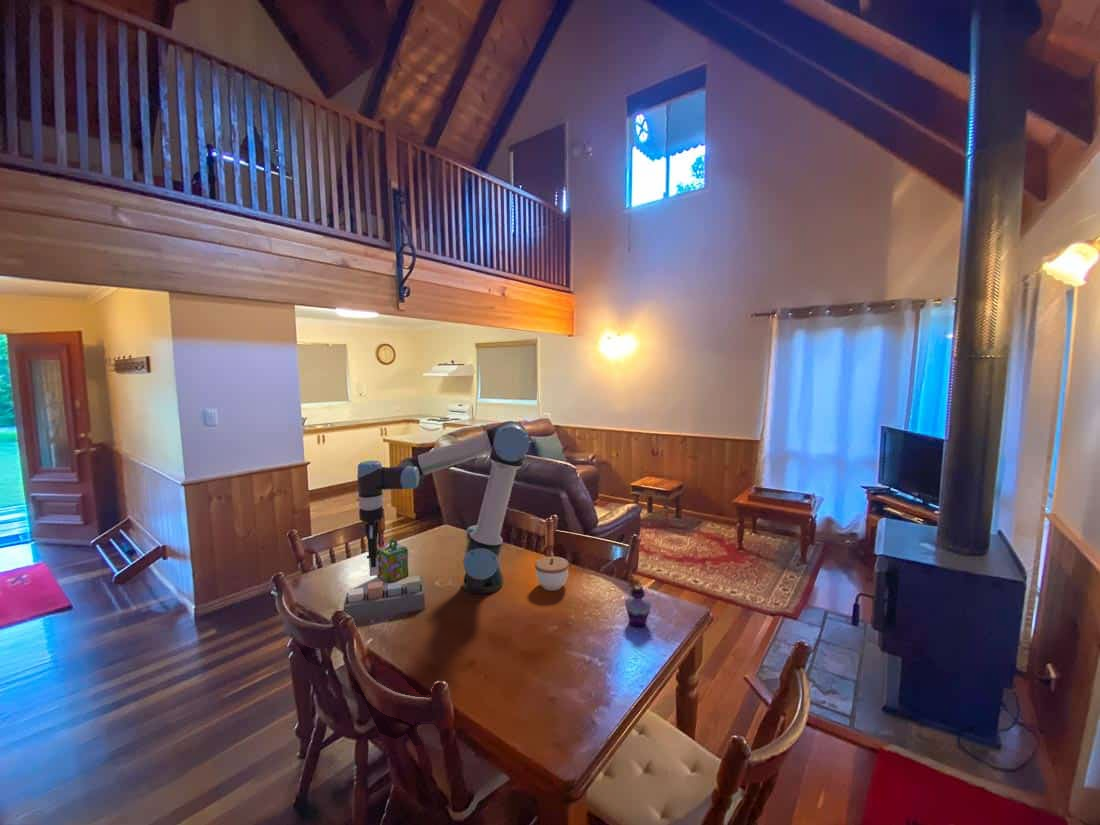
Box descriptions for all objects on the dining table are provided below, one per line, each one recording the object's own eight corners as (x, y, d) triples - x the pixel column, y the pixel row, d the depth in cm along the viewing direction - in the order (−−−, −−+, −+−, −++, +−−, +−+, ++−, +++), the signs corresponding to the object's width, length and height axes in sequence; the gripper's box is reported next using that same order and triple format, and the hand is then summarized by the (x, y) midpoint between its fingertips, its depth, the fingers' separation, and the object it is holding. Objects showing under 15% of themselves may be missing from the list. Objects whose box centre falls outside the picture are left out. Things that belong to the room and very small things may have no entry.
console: (423, 595, 167) (422, 581, 166) (424, 609, 157) (424, 593, 157) (347, 608, 159) (346, 592, 158) (344, 622, 149) (343, 606, 149)
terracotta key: (383, 596, 159) (382, 581, 159) (382, 602, 155) (381, 586, 155) (369, 598, 158) (368, 583, 158) (368, 604, 154) (367, 588, 153)
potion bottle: (641, 613, 152) (641, 579, 151) (656, 627, 144) (657, 590, 143) (619, 619, 149) (619, 583, 148) (633, 633, 141) (633, 595, 140)
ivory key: (364, 602, 158) (363, 587, 157) (363, 608, 153) (362, 593, 153) (350, 604, 156) (349, 589, 156) (349, 611, 152) (348, 595, 152)
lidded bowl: (569, 579, 178) (569, 551, 177) (567, 594, 166) (567, 565, 165) (537, 578, 179) (537, 551, 178) (533, 593, 167) (532, 564, 166)
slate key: (401, 596, 161) (401, 581, 161) (401, 602, 157) (401, 587, 157) (388, 598, 160) (387, 583, 160) (388, 604, 156) (387, 589, 155)
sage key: (419, 590, 163) (419, 575, 163) (420, 595, 159) (419, 581, 159) (407, 592, 162) (406, 577, 161) (407, 598, 158) (406, 583, 157)
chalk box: (376, 577, 183) (374, 541, 181) (397, 569, 189) (395, 534, 188) (388, 584, 176) (386, 546, 175) (409, 575, 183) (408, 540, 182)
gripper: (360, 503, 159) (363, 568, 161) (357, 514, 146) (360, 584, 148) (383, 501, 161) (386, 565, 163) (382, 511, 149) (385, 581, 151)
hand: (374, 574), depth 156 cm, fingers closed
